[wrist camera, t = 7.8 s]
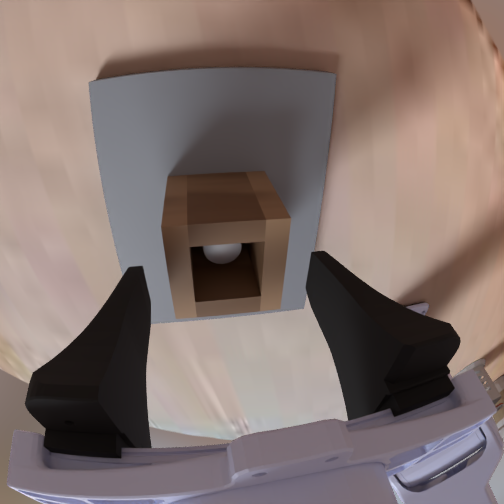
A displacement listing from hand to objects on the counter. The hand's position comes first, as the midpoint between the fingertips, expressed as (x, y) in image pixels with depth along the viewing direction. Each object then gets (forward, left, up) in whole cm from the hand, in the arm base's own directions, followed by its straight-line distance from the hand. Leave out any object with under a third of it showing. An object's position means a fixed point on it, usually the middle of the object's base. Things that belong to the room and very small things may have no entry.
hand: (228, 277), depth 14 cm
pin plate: (0, 0, -6) cm, 6 cm away
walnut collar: (0, 0, -5) cm, 5 cm away
